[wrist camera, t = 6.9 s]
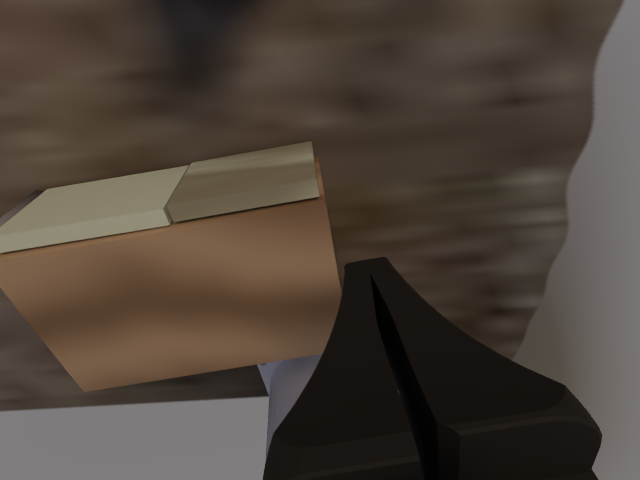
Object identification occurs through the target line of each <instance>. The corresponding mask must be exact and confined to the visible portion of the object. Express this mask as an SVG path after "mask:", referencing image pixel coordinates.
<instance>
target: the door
mask: <svg viewBox="0 0 640 480" xmlns="http://www.w3.org/2000/svg"><path fill="white" fill-rule="evenodd" d="M188 168H189V165H188V166H182V167H176V168H170V169H164V170H158V171H152V172H146V173H140V174H134V175H128V176H122V177H116V178H110V179H105V180H99V181H93V182H87V183H81V184H75V185H69V186H63V187H57V188H51V189H47V190H46V191H44V192H43V191H40V190H37V191H35V192H33V193H32V194H31V195H29V196H28V197H27V198H26V199H24V200H23V201H22V202H20V203H19V204H18V205H17V206H15V207H14V208H13V209H11V210H10V211H9V212H8V213H6V214H5V215H4V216H2V217H1V218H0V253H3V252H9V251H15V250H21V249H27V248H34V247H40V246H46V245H52V244H58V243H64V242H70V241H76V240H83V239H89V238H95V237H101V236H107V235H113V234H119V233H125V232H132V231H138V230H144V229H150V228H156V227H162V226H168V225H170V224H171V222H172V218H171V215H170V213H169V211H168V208H167V204H168V202H169V201H170V199H171V197H172V196H173V194H174V192H175V190H176V189H177V187H178V185H179V184H180V182H181V180H182V178H183V177H184V175H185V173H186V172H187V170H188Z"/></svg>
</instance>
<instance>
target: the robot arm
mask: <svg viewBox="0 0 640 480" xmlns="http://www.w3.org/2000/svg"><path fill="white" fill-rule="evenodd" d="M344 269H345V278H344V286H343V292H342V297H341V301H340V306H339V310H338V313H337V316H336V319H335V323H334V326H333V329H332V332H331V334H330V337H329V340H328V342H327V345H326V347H325V349H324V352H323V354H319V355H312V356H306V357H300V358H294V359H287V360H281V361H275V362H269V363H263V364H257V366H258V368H259V371H260V374H261V376H262V379H263V382H264V384H265V387H266V389H267V392H268V395H269V414H268V431H267V449H266V464H265V469H264V475H263V480H598V478H597V477H596V475H595V474H594V472H593V471H592V466H593V463H594V461H595V458H596V456H597V453H598V451H599V448H600V445H601V439H602V434H601V431H600V429H599V427H598V425H597V424H596V422H595V421H594V420H593V418H592V417H591V415H590V414H589V413H588V411H587V410H586V409H585V408H584V407H583V405H582V404H581V403H580V402H579V400H578V399H577V398H576V397H575V396H574V395H573V394H572V393H571V392H570V391H569V389H568V388H567V387H566V386H565V385H563V384H561V383H559V382H557V381H554V380H552V379H550V378H547V377H545V376H543V375H541V374H538V373H536V372H534V371H532V370H529V369H527V368H525V367H523V366H521V365H519V364H517V363H515V362H513V361H511V360H509V359H508V358H506V357H504V356H502V355H500V354H499V353H497V352H495V351H493V350H492V349H490V348H488V347H487V346H485V345H483V344H482V343H480V342H478V341H477V340H475V339H474V338H472V337H471V336H469V335H468V334H466V333H465V332H463V331H462V330H461V329H459V328H458V327H457V326H455V325H454V324H452V323H451V322H450V321H449V320H447V319H446V318H445V317H443V316H442V315H441V314H440V313H439V312H437V311H436V310H435V309H434V308H433V307H432V306H431V305H429V304H428V303H427V302H426V301H425V300H424V299H423V298H422V297H421V296H420V295H419V294H418V293H417V292H416V291H415V290H414V289H413V288H412V287H411V286H410V285H409V284H408V283H407V282H406V281H405V280H404V279H403V278H402V276H401V275H400V274H399V273H398V272H397V271H396V269H395V268H394V267H393V266H392V264H391V263H390V262H389V260H388V259H387V258H385V257H380V258H374V259H369V260H363V261H358V262H352V263H347V264H346V265H345V267H344ZM396 386H397V387H396ZM397 389H398V390H397ZM398 391H399V393H398ZM399 394H400V395H399Z"/></svg>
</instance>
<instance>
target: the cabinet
mask: <svg viewBox="0 0 640 480" xmlns="http://www.w3.org/2000/svg"><path fill="white" fill-rule="evenodd" d="M167 208H168V211H169V213H170V215H171V218H172V222H171V224H170V225H168V226H162V227H156V228H150V229H144V230H138V231H132V232H125V233H119V234H113V235H107V236H101V237H95V238H89V239H83V240H76V241H70V242H64V243H58V244H52V245H46V246H40V247H34V248H27V249H21V250H15V251H9V252H3V253H0V288H1V289H2V290H3V292H4V293H5V294H6V295H7V297H8V298H9V299H10V300H11V302H12V303H13V304H14V305H15V307H16V308H17V309H18V310H19V312H20V313H21V314H22V315H23V317H24V318H25V319H26V320H27V322H28V323H29V324H30V325H31V327H32V328H33V329H34V330H35V332H36V333H37V334H38V335H39V337H40V338H41V339H42V340H43V342H44V343H45V344H46V345H47V347H48V348H49V349H50V350H51V352H52V353H53V354H54V355H55V357H56V358H57V359H58V360H59V362H60V363H61V364H62V365H63V367H64V368H65V369H66V370H67V372H68V373H69V374H70V375H71V377H72V378H73V379H74V380H75V382H76V383H77V384H78V385H79V387H80V388H81V389H82V390H83V392H88V391H95V390H101V389H107V388H113V387H119V386H126V385H132V384H138V383H144V382H151V381H157V380H163V379H169V378H175V377H182V376H188V375H194V374H200V373H207V372H213V371H219V370H225V369H231V368H238V367H244V366H250V365H256V364H263V363H269V362H275V361H281V360H287V359H294V358H300V357H306V356H312V355H319V354H323V352H324V349H325V347H326V345H327V342H328V340H329V337H330V334H331V332H332V329H333V326H334V323H335V319H336V316H337V313H338V310H339V306H340V301H341V297H342V291H341V285H340V279H339V274H338V268H337V262H336V256H335V251H334V245H333V239H332V233H331V228H330V222H329V216H328V210H327V205H326V199H325V193H324V187H323V182H322V176H321V170H320V164H319V159H318V157H314V153H313V147H312V142H311V141H309V142H304V143H298V144H293V145H287V146H282V147H276V148H270V149H265V150H259V151H254V152H248V153H243V154H237V155H232V156H226V157H221V158H215V159H210V160H204V161H199V162H193V163H191V165H190V166H189V168H188V170H187V172H186V173H185V175H184V177H183V178H182V180H181V182H180V184H179V185H178V187H177V189H176V190H175V192H174V194H173V196H172V197H171V199H170V201H169V202H168V204H167Z"/></svg>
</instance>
